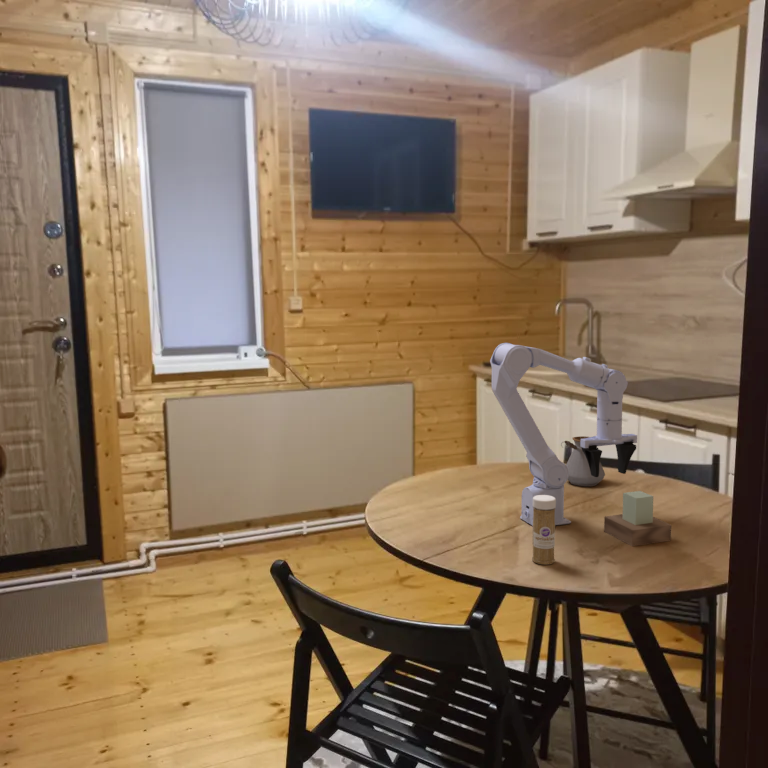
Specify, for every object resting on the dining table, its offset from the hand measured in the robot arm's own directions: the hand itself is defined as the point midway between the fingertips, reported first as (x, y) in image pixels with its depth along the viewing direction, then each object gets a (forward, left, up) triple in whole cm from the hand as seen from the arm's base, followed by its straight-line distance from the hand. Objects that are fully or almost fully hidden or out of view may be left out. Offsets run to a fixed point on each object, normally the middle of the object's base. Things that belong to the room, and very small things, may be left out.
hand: (608, 474), depth 170 cm
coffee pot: (+8, +25, -11) cm, 28 cm away
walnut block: (-2, -14, -10) cm, 18 cm away
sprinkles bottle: (-29, -20, -11) cm, 37 cm away
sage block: (-2, -14, -7) cm, 16 cm away
